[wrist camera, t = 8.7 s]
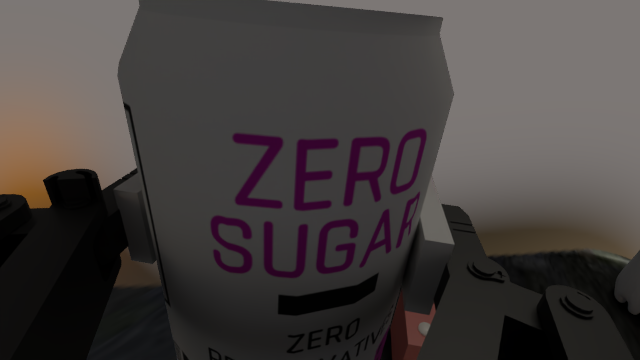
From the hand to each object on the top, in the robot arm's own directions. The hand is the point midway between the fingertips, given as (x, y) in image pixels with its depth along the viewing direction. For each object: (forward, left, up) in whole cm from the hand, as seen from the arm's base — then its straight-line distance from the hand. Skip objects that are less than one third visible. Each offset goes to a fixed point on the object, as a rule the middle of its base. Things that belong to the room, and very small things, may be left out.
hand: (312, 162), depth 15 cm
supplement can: (0, -5, -9) cm, 10 cm away
